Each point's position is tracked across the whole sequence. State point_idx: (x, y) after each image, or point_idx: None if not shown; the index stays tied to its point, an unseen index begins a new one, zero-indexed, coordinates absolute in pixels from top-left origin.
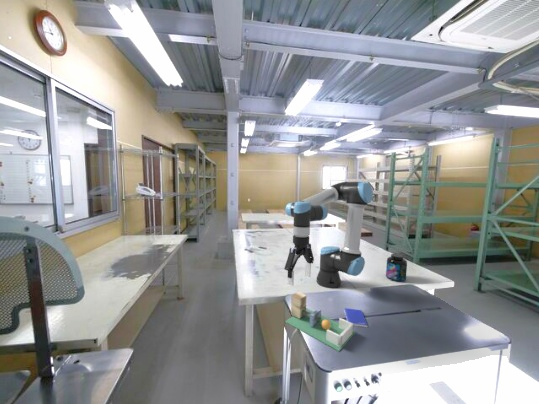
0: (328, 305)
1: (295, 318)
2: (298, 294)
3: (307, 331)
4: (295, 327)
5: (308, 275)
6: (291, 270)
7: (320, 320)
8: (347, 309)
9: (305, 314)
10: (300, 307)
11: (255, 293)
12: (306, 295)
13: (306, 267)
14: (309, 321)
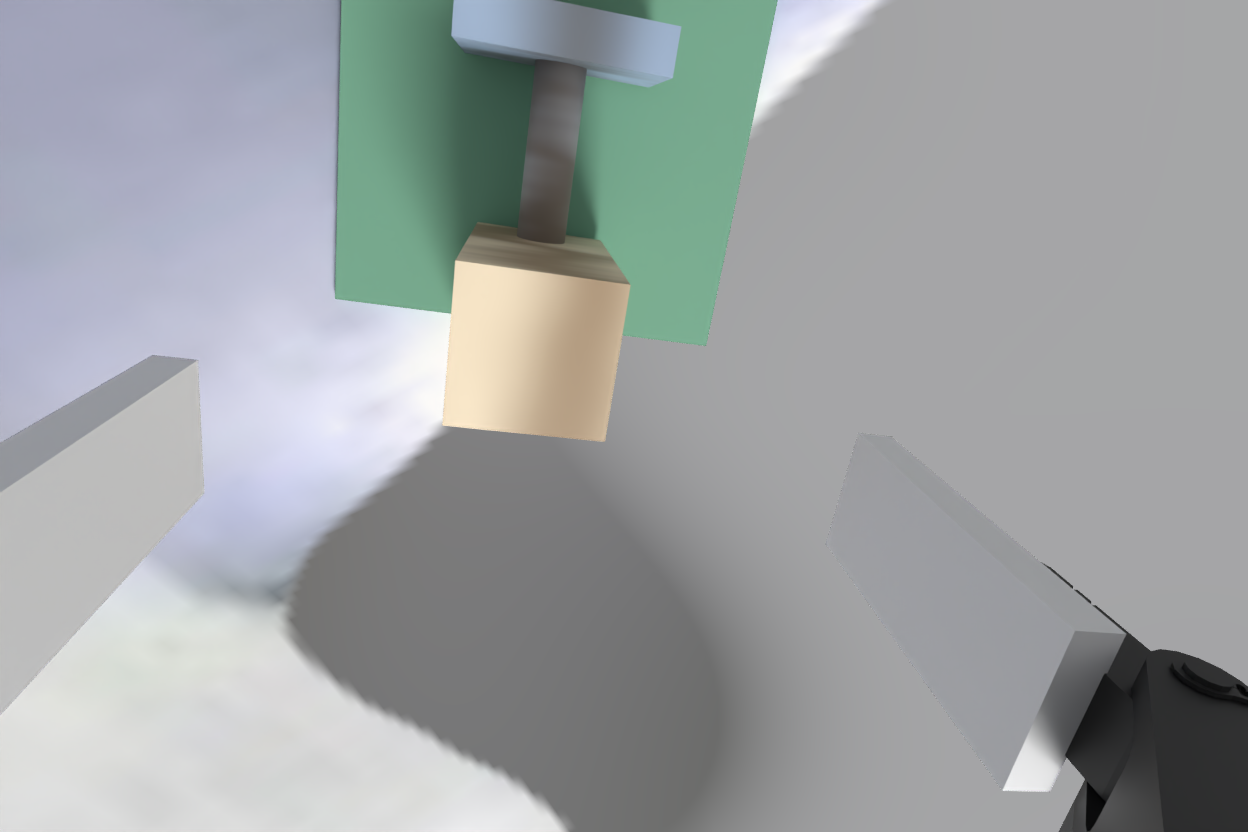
0: (17, 65)
1: None
2: (521, 373)
3: (735, 71)
4: (731, 215)
5: (183, 402)
6: (1222, 680)
7: None
8: None
9: (570, 187)
10: (603, 259)
11: (453, 807)
12: (456, 259)
13: (68, 587)
14: None
